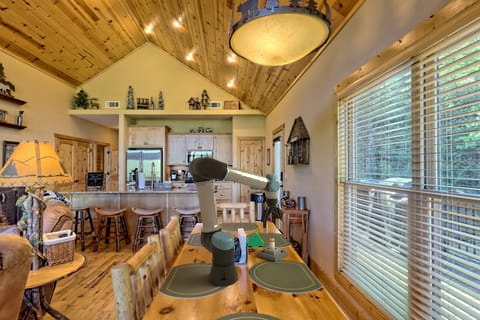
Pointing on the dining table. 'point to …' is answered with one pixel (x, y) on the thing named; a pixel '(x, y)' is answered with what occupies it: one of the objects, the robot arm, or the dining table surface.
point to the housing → (272, 254)
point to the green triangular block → (255, 240)
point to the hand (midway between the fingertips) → (271, 230)
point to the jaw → (271, 244)
